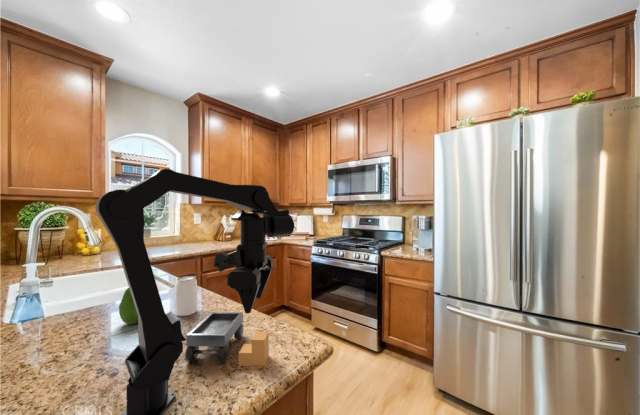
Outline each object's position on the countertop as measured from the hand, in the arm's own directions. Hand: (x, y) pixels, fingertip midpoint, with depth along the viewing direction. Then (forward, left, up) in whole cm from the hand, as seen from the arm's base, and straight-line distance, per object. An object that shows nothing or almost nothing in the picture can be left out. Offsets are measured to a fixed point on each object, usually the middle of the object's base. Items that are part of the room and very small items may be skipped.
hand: (253, 305), depth 61 cm
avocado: (+19, +43, -13) cm, 49 cm away
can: (+27, +31, -13) cm, 43 cm away
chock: (0, 0, -13) cm, 13 cm away
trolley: (+5, +11, -13) cm, 18 cm away
